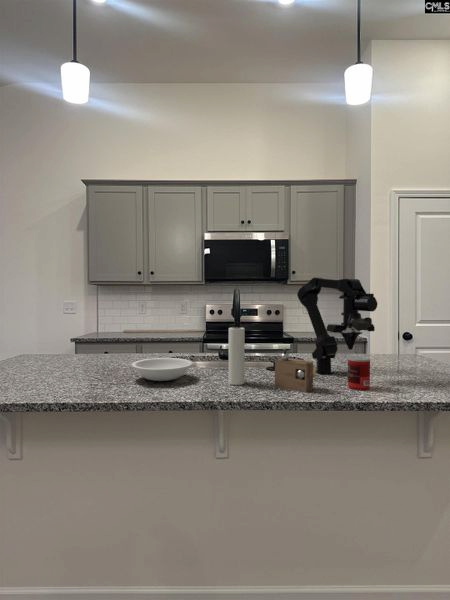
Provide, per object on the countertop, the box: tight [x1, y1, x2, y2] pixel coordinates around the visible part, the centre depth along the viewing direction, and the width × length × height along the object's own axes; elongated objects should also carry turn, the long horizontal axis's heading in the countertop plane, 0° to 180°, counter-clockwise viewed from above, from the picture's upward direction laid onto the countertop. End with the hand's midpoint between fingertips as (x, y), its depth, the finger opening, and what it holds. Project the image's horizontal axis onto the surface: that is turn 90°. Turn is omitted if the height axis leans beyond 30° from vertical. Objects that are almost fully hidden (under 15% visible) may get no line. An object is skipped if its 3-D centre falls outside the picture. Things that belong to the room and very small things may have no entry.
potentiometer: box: [280, 348, 290, 361], centre depth 142 cm, size 3×3×4 cm
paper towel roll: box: [228, 326, 246, 386], centre depth 147 cm, size 7×6×21 cm
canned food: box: [347, 355, 371, 391], centre depth 141 cm, size 8×8×11 cm
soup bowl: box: [131, 357, 194, 382], centre depth 154 cm, size 24×24×7 cm
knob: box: [296, 365, 317, 379], centre depth 139 cm, size 7×6×6 cm
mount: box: [274, 358, 314, 393], centre depth 141 cm, size 7×12×10 cm, turn 54°
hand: (350, 349), depth 154 cm, fingers closed
